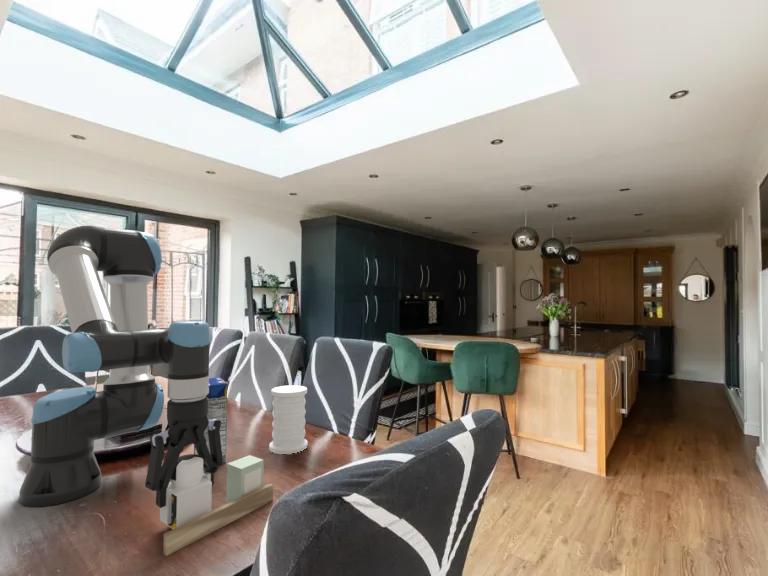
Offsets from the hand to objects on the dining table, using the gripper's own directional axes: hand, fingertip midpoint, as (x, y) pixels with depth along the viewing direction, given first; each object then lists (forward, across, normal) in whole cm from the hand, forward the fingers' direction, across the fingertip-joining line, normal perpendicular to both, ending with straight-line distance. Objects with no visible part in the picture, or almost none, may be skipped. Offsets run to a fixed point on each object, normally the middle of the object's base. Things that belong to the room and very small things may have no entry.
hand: (185, 512), depth 80 cm
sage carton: (+3, -13, +2) cm, 13 cm away
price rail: (+3, -5, +6) cm, 8 cm away
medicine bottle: (+1, 0, 0) cm, 1 cm away
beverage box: (+3, -23, -28) cm, 36 cm away
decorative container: (+3, -42, -16) cm, 45 cm away
